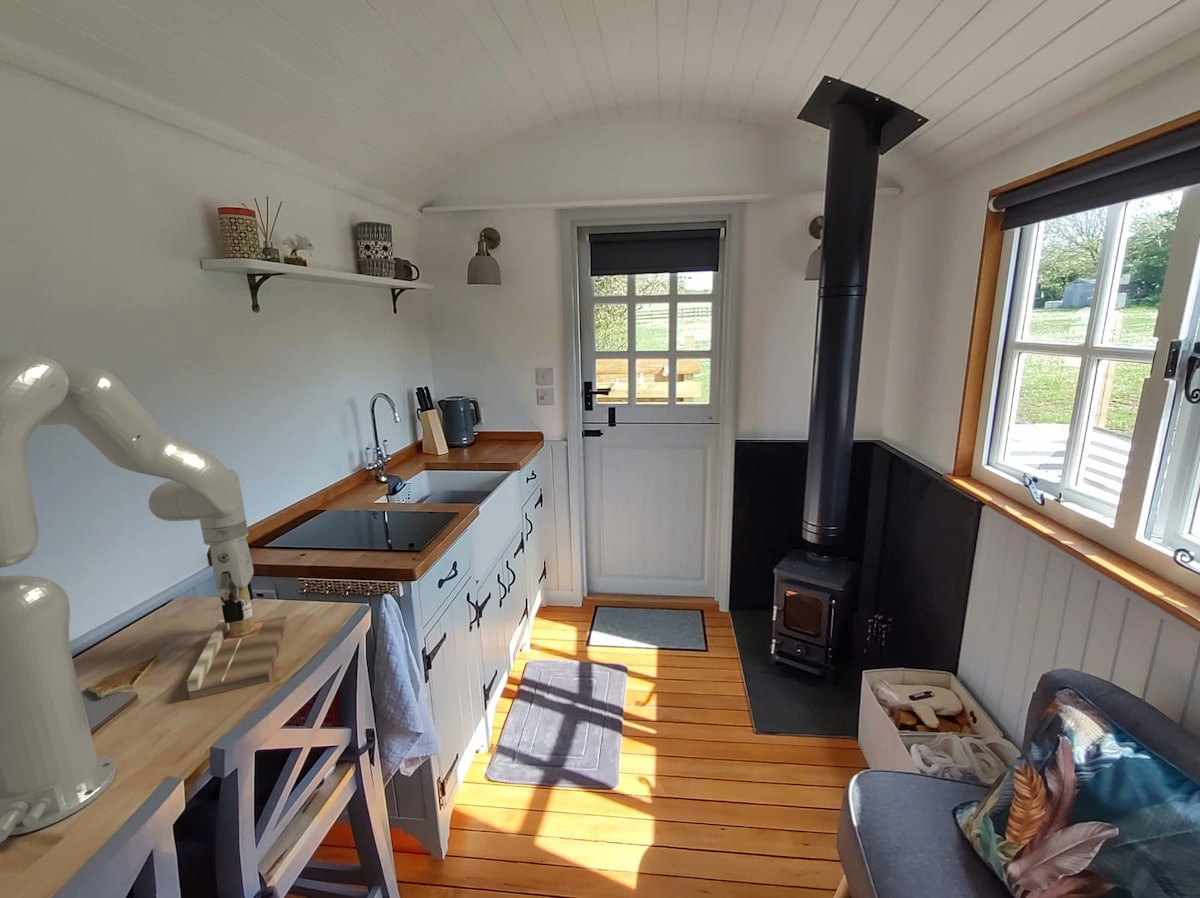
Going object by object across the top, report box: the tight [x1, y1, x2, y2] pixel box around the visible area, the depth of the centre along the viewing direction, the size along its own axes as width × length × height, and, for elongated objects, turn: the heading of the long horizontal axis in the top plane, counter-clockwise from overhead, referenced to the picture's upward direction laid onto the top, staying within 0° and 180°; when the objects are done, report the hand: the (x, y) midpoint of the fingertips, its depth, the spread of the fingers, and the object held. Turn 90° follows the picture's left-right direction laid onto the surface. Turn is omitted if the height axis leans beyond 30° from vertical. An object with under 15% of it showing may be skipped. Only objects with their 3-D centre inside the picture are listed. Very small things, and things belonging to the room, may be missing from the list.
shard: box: [87, 654, 159, 697], centre depth 103 cm, size 11×8×2 cm
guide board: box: [186, 615, 288, 700], centre depth 109 cm, size 24×12×4 cm, turn 22°
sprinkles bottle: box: [229, 586, 255, 637], centre depth 115 cm, size 5×5×13 cm
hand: (239, 610), depth 115 cm, fingers open, 9 cm apart
